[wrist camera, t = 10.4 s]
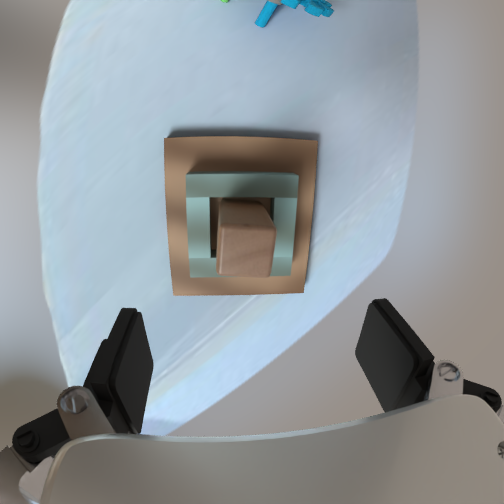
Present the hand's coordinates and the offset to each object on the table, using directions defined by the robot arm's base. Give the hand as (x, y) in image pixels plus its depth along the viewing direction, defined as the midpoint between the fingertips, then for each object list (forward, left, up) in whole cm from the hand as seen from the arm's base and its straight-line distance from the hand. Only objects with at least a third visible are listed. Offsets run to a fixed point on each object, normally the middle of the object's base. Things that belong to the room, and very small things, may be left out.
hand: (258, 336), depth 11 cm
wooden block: (0, 0, -18) cm, 18 cm away
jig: (+1, 0, -19) cm, 19 cm away
